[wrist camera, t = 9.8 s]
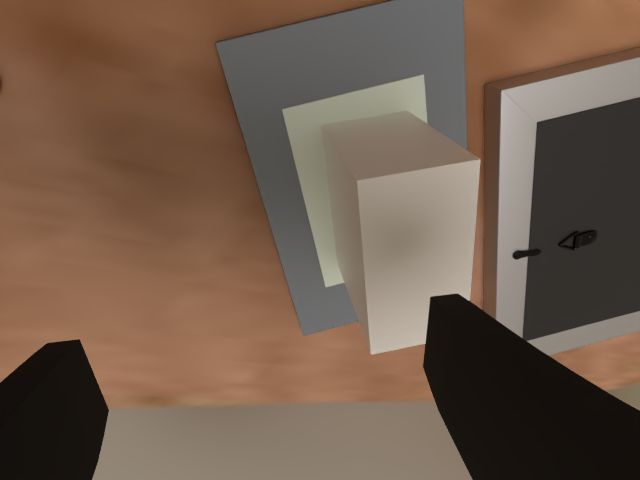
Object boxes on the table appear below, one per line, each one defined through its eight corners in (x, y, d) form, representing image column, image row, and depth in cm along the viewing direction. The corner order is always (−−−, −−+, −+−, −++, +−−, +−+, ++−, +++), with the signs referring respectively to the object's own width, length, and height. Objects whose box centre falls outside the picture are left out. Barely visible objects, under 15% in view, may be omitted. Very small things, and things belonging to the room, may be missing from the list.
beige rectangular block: (337, 262, 20) (370, 354, 15) (321, 124, 17) (357, 180, 12) (409, 249, 20) (467, 334, 15) (407, 110, 17) (480, 159, 12)
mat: (216, 41, 15) (215, 43, 15) (455, -16, 16) (464, -17, 15) (301, 328, 22) (303, 337, 22) (465, 284, 23) (471, 292, 22)
